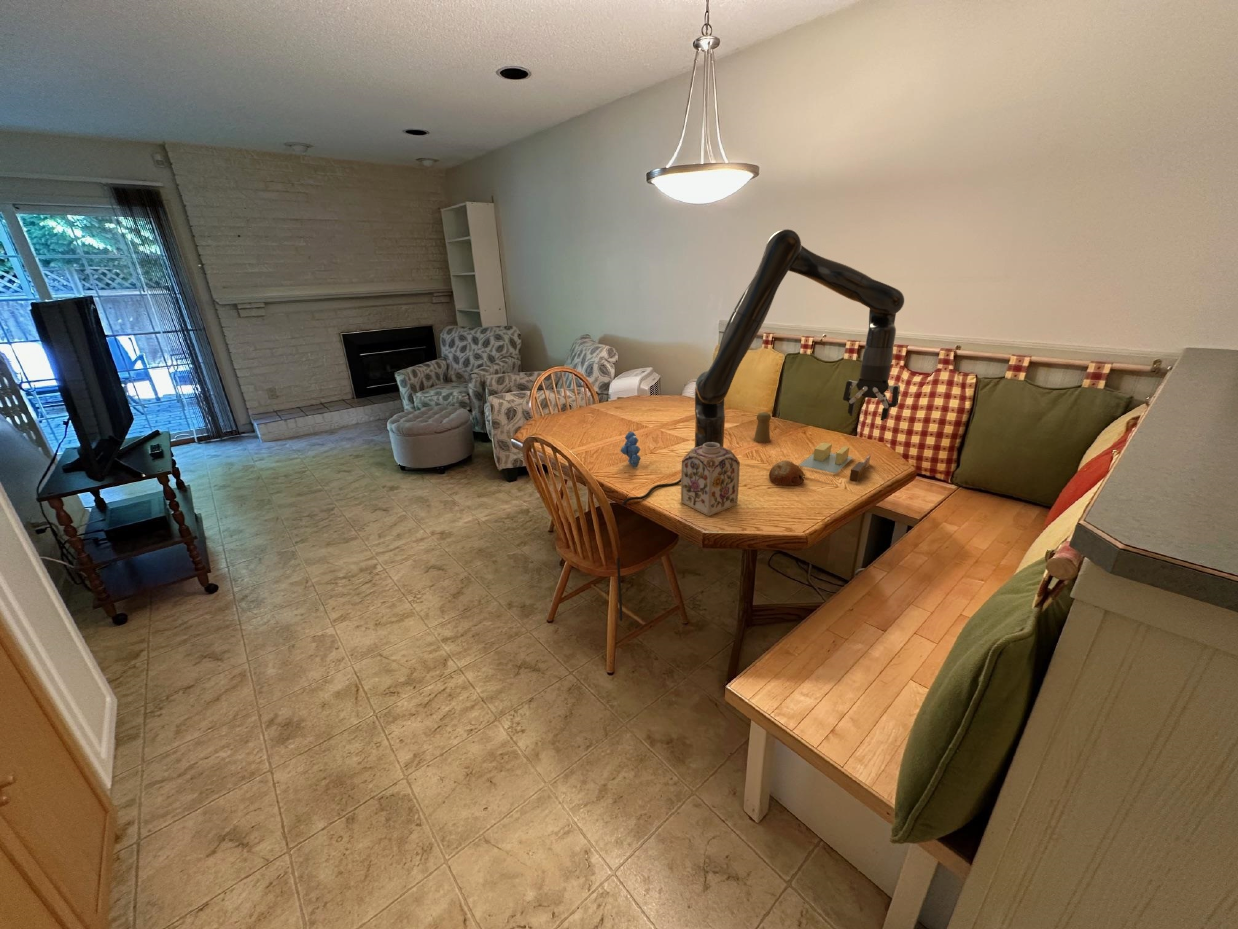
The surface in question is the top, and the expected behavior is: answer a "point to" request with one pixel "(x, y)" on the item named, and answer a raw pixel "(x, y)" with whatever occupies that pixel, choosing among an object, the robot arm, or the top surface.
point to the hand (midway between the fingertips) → (866, 417)
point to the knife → (859, 469)
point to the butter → (822, 451)
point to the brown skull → (786, 474)
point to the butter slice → (842, 455)
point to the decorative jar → (710, 478)
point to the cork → (762, 428)
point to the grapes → (631, 449)
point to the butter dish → (824, 463)
